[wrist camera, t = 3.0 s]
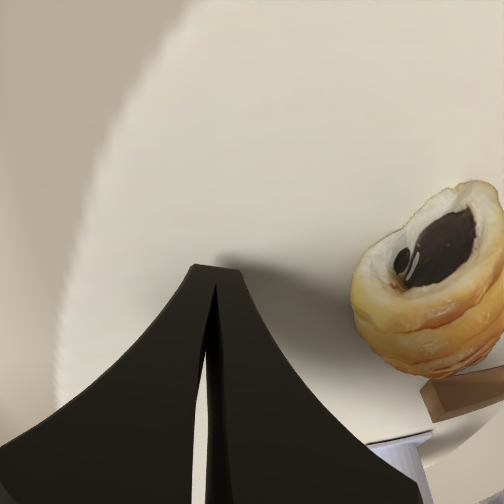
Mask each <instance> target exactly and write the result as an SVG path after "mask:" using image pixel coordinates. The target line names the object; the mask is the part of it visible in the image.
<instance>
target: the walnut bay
mask: <svg viewBox="0 0 504 504" xmlns="http://www.w3.org/2000/svg"><path fill="white" fill-rule="evenodd" d="M420 393H421V395H422V398H423V400H424V402H425V405H426V407H427V410H428V412H429V415H430V417H431V419H432V422H433V423H436V422H440V421H443V420H447V419H450V418H454V417H457V416H460V415H463V414H466V413H469V412H472V411H475V410H478V409H481V408H484V407H486V406H489V405H492V404H494V403H497V402H499V401H502V400H504V366H501V367H497V368H492V369H488V370H483V371H478V372H474V373H468V374H463V375H458V376H452V377H448V378H444V379H432V380H430V381H429V382H428V383H427V384H426V385H425V386H424V387H423V388H422V389H421V390H420Z"/></svg>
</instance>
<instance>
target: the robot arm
mask: <svg viewBox="0 0 504 504" xmlns="http://www.w3.org/2000/svg"><path fill="white" fill-rule="evenodd" d="M205 352H206V380H207V406H208V443H207V467H206V492H205V504H433V500H432V497H431V493H430V489H429V486H428V482H427V479H426V476H425V472H424V469H423V466H422V463H421V460H420V456H419V453H418V450H417V447H418V446H420V445H421V444H422V443H424V442H425V441H426V440H428V439H429V438H430V437H432V436H433V433H432V432H427V433H424V434H420V435H416V436H412V437H407V438H403V439H399V440H394V441H389V442H384V443H378V444H373V445H367V446H365V445H364V444H363V443H362V442H361V441H360V440H358V439H357V438H356V437H355V436H354V435H353V434H352V433H351V432H350V431H349V430H348V429H347V428H346V427H344V426H343V425H342V424H341V423H340V422H339V421H338V420H337V419H336V418H335V417H334V416H333V415H332V414H331V413H330V412H329V411H328V410H327V409H326V408H325V407H324V405H323V404H322V403H321V402H320V401H319V400H318V399H317V398H316V396H315V395H314V394H313V393H312V392H311V390H310V389H309V388H308V387H307V386H306V384H305V383H304V382H303V381H302V379H301V378H300V377H299V376H298V374H297V373H296V372H295V370H294V369H293V368H292V366H291V365H290V363H289V362H288V361H287V359H286V358H285V356H284V355H283V353H282V352H281V350H280V349H279V347H278V345H277V344H276V342H275V341H274V339H273V337H272V336H271V334H270V332H269V331H268V329H267V327H266V325H265V323H264V322H263V320H262V318H261V316H260V314H259V312H258V310H257V308H256V306H255V304H254V302H253V300H252V298H251V296H250V294H249V291H248V289H247V287H246V284H245V282H244V279H243V276H242V274H241V272H240V271H239V270H236V269H228V268H221V267H214V266H207V265H200V264H194V265H192V266H191V267H190V268H189V271H188V273H187V274H186V276H185V278H184V280H183V281H182V283H181V285H180V286H179V288H178V289H177V291H176V292H175V294H174V295H173V296H172V298H171V299H170V300H169V302H168V303H167V304H166V306H165V307H164V309H163V310H162V311H161V312H160V314H159V315H158V316H157V317H156V319H155V320H154V321H153V322H152V323H151V324H150V326H149V327H148V328H147V329H146V330H145V332H144V333H143V334H142V335H141V336H140V337H139V338H138V340H137V341H136V342H135V343H134V344H133V345H132V346H131V347H130V348H129V349H128V350H127V351H126V352H125V353H124V354H123V355H122V356H121V357H120V358H119V359H118V360H117V361H116V362H115V363H114V364H113V365H112V366H111V367H110V368H109V369H108V370H106V371H105V372H104V373H103V374H102V375H101V376H100V377H99V378H98V379H97V380H95V381H94V382H93V383H92V384H91V385H90V386H88V387H87V388H86V389H85V390H84V391H82V392H81V393H80V394H79V395H77V396H76V397H75V398H73V399H72V400H71V401H69V402H68V403H67V404H65V405H64V406H63V407H61V408H60V409H59V410H57V411H56V412H55V413H53V414H52V415H51V416H49V417H48V418H46V419H45V420H43V421H42V422H40V423H39V424H38V425H36V426H34V427H33V428H31V429H29V430H28V431H26V432H24V433H23V434H21V435H19V436H18V437H16V438H14V439H13V440H11V441H10V442H8V443H6V444H4V445H3V446H1V447H0V504H191V501H192V466H193V444H194V425H195V409H196V401H197V395H198V390H199V384H200V379H201V373H202V368H203V363H204V357H205ZM476 504H504V489H503V490H502V491H500V492H498V493H496V494H495V495H493V496H491V497H488V498H486V499H484V500H483V501H481V502H479V503H476Z"/></svg>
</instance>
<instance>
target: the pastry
mask: <svg viewBox="0 0 504 504" xmlns="http://www.w3.org/2000/svg"><path fill="white" fill-rule="evenodd" d="M350 301H351V306H352V309H353V312H354V320H355V327H356V330H357V331H358V333H359V334H360V336H361V337H362V338H364V339H365V340H366V341H367V342H368V344H369V345H370V347H371V349H372V350H373V351H374V352H375V353H377V354H378V355H380V356H381V357H382V358H383V359H384V360H385V361H386V363H388V364H390V365H391V366H393V367H394V368H396V369H397V370H399V371H401V372H404V373H407V374H411V375H421V376H424V377H426V378H428V379H444V378H448V377H450V376H453V375H454V374H456V373H457V372H459V371H462V370H464V369H465V368H467V367H469V366H473V365H475V364H477V363H479V362H480V361H482V360H483V359H484V358H485V357H486V356H487V355H488V353H489V352H490V351H491V349H492V348H493V346H494V345H495V344H496V342H497V341H498V340H499V338H500V336H501V334H502V333H503V332H504V211H503V209H502V207H501V205H500V202H499V199H498V191H497V190H496V188H495V187H493V186H492V185H491V184H489V183H487V182H484V181H478V180H474V181H471V182H468V183H465V184H464V183H459V184H457V185H456V186H455V187H454V188H445V189H444V190H442V191H441V192H439V193H438V194H436V195H435V196H433V197H432V198H430V199H429V200H428V201H427V202H426V203H425V205H424V206H423V207H422V208H421V209H420V210H419V211H417V212H416V213H415V214H414V215H413V217H412V218H411V219H410V220H409V221H408V223H407V224H406V225H405V226H404V227H403V228H402V229H401V230H400V231H398V232H395V233H393V234H391V235H389V236H387V237H386V238H384V239H383V240H381V241H380V242H378V243H377V244H375V245H374V246H373V247H371V248H370V249H369V250H367V251H366V252H365V254H364V255H363V256H362V258H361V260H360V262H359V263H358V265H357V267H356V269H355V271H354V274H353V276H352V281H351V288H350Z"/></svg>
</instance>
